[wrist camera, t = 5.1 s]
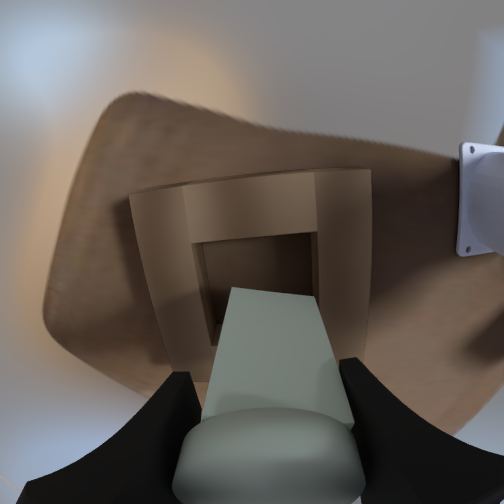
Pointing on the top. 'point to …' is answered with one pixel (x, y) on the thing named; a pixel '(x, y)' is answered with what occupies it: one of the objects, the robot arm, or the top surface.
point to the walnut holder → (255, 225)
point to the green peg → (272, 412)
